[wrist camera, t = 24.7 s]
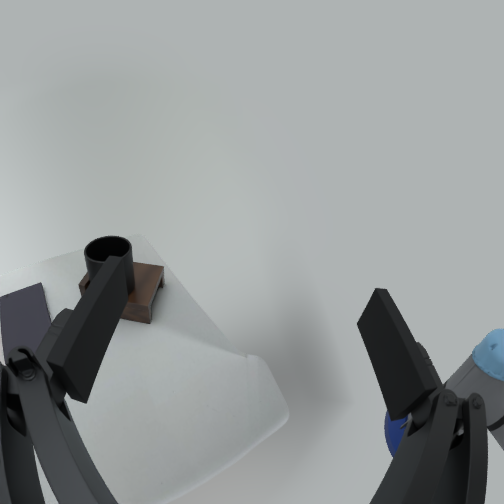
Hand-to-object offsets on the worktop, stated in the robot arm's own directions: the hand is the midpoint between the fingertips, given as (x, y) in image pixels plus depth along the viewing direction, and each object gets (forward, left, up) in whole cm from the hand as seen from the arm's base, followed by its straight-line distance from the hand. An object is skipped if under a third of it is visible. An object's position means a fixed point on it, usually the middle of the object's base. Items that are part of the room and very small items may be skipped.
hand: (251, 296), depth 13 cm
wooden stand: (+22, -32, -32) cm, 50 cm away
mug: (+23, -30, -27) cm, 47 cm away
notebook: (+42, -17, -32) cm, 55 cm away
